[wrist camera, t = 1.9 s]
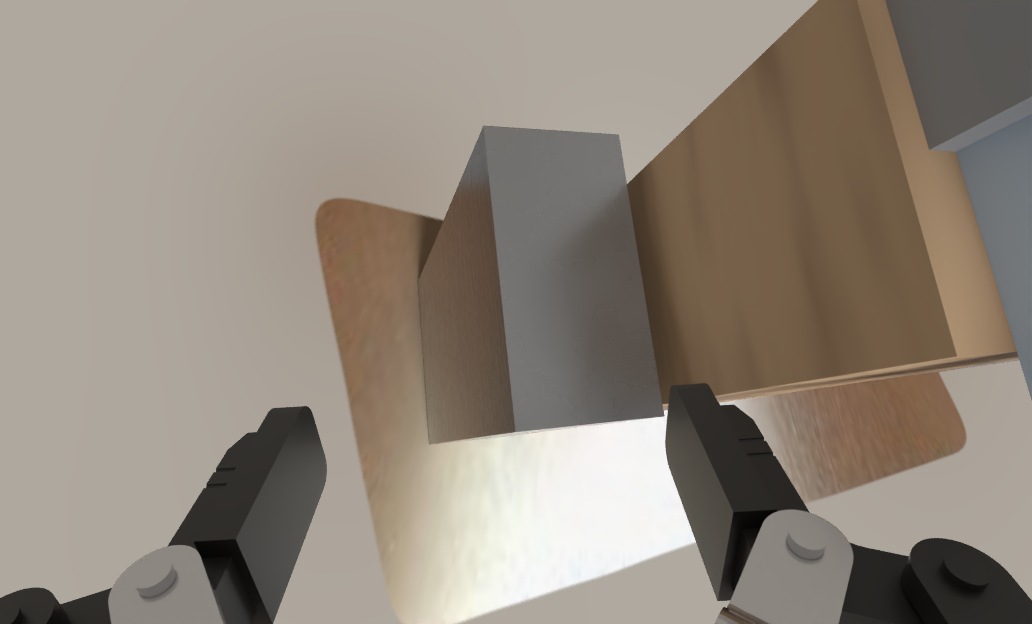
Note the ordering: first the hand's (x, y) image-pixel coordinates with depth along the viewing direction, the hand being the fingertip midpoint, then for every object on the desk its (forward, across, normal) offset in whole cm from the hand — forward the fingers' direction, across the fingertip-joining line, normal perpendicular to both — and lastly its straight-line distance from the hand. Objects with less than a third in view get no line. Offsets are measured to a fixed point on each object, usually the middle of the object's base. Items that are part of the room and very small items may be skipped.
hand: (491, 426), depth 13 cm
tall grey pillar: (+25, +4, +14) cm, 29 cm away
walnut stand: (+27, -3, +16) cm, 32 cm away
